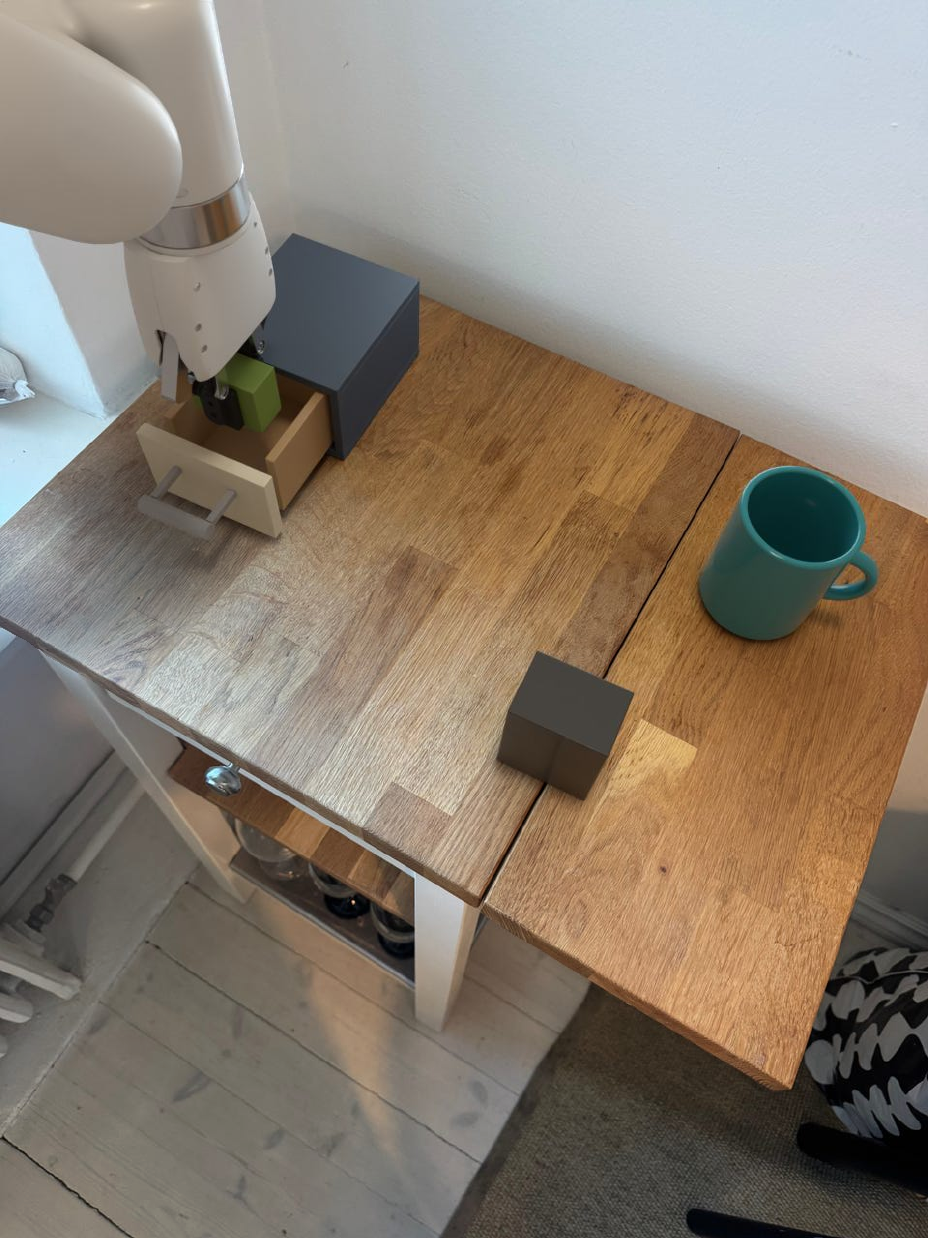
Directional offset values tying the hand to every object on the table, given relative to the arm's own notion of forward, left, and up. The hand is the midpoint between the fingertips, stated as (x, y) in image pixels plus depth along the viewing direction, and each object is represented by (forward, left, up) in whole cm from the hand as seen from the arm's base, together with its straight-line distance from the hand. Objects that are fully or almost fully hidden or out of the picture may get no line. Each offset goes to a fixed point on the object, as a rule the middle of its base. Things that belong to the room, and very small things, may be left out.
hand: (238, 404), depth 70 cm
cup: (+44, +8, -9) cm, 45 cm away
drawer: (0, -1, -7) cm, 7 cm away
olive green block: (0, 0, 0) cm, 0 cm away
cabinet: (0, +12, -8) cm, 14 cm away
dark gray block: (+33, -12, -8) cm, 36 cm away
